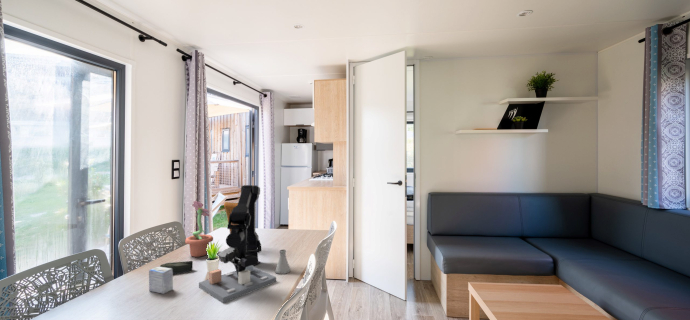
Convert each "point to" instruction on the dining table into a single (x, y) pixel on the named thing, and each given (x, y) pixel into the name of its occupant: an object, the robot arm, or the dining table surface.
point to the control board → (236, 285)
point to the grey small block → (249, 268)
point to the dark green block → (179, 266)
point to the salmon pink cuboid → (215, 276)
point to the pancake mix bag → (229, 210)
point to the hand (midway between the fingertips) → (239, 277)
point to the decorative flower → (199, 241)
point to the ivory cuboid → (244, 277)
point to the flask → (282, 263)
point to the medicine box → (160, 280)
